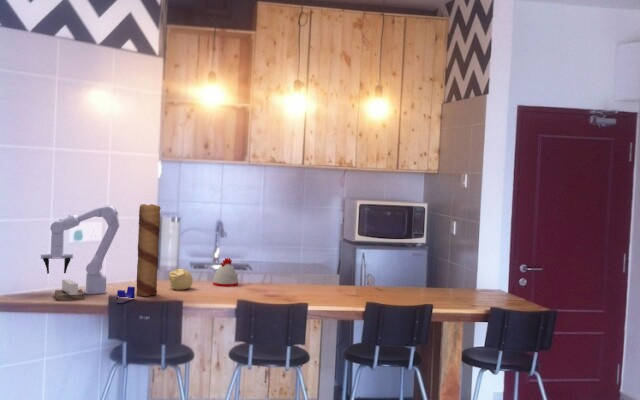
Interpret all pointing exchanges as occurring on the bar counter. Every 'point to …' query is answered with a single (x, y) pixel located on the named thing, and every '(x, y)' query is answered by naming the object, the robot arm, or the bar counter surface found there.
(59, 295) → the brown square tray
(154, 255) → the wafer roll
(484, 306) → the bar counter surface
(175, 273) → the sculpture
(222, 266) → the pompom beanie hat
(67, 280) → the bar
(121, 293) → the cable clip
